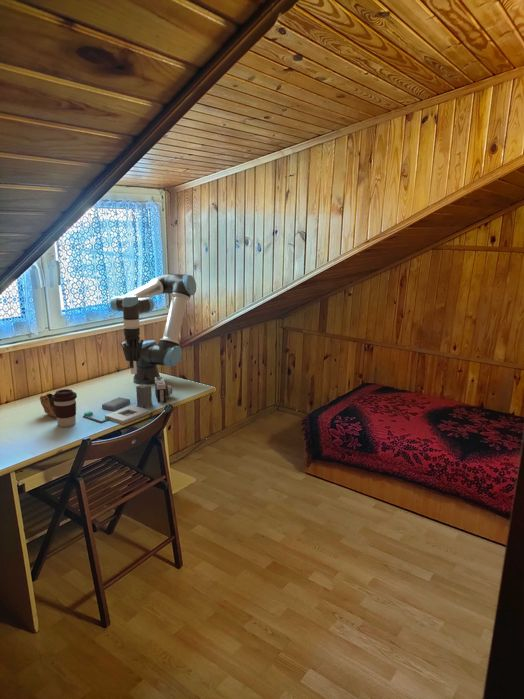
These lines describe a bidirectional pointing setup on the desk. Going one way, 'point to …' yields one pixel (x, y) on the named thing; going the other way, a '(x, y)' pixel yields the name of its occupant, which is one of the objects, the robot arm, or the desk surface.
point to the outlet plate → (127, 414)
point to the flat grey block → (115, 403)
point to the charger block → (144, 395)
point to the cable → (93, 418)
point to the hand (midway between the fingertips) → (133, 373)
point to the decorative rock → (48, 404)
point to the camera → (162, 390)
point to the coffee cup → (65, 407)
